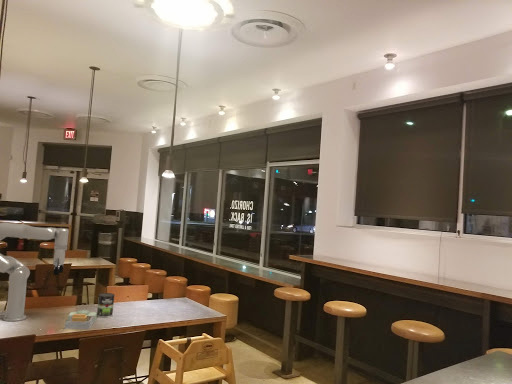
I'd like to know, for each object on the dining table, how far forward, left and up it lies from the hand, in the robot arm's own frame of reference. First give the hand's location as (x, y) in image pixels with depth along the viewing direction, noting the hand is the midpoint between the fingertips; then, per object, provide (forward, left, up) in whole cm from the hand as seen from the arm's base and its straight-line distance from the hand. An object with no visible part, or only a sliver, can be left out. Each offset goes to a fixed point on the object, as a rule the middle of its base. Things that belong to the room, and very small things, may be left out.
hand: (58, 273), depth 260 cm
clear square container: (+18, -16, -28) cm, 37 cm away
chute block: (+18, -16, -28) cm, 37 cm away
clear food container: (+18, -4, -28) cm, 34 cm away
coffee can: (+30, +7, -28) cm, 42 cm away
